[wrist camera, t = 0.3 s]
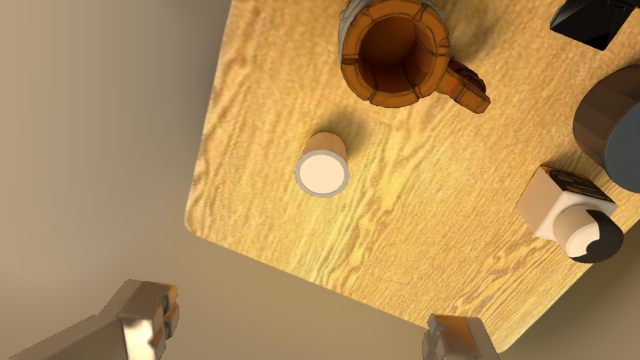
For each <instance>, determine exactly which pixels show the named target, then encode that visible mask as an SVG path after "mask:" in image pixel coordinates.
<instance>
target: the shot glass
mask: <svg viewBox="0 0 640 360" xmlns="http://www.w3.org/2000/svg"><path fill="white" fill-rule="evenodd" d="M294 174H295V178H296V182H297V184H298V185H299V186H300V188H301V189H302V190H303V191H304V192H306V193H308V194H309V195H311V196H315V197H319V198H327V197H332V196H335V195H337V194H339V193H341V192H342V190H343V189H344V188H345V187H346V186H347V184H348V181H349V177H350V175H349V168H348V162H347V156H346V150H345V145H344V143H343V141H342V140H341V138H339V137H338V136H336V135H335V134H333V133H329V132H322V133H317V134H316V135H314V136H312V137H311V138H310V139H309V141H308V142H307V144H306V146H305V148H304V150H303V152H302V154H301V156H300V158H299V160H298V162H297V164H296V168H295V172H294Z"/></svg>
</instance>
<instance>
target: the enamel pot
mask: <svg viewBox="0 0 640 360" xmlns="http://www.w3.org/2000/svg"><path fill="white" fill-rule="evenodd" d="M639 98H640V64H639V65H634V66H630V67H626V68H623V69H621V70H619V71H616V72H614V73H612V74H611V75H609V76H607V77H606V78H604V79H603V80H601V81H600V82H599V83H597V84H596V85H595V86H594V87H593V88H592V89H591V90H590V91H589V92H588V93H587V94H586V96H585V97H584V98H583V100H582V101H581V103H580V104H579V106H578V108H577V111H576V113H575V116H574V121H573V134H574V138H575V140H576V142H577V144H578V146H579V147H580V148H581V149H582V151H583V152H584V153H585V154H586V155H588V156H589V157H590V158H591V159H593V160H594V161H595V162H596V163H597V164H599V165H600V166H601V167H602V168H604V165H603V160H602V152H603V146H604V142H605V139H606V137H607V134H608V132H609V131H610V129H611V127H612V125H613V124H614V123H615V121H616V120H617V118H618V117H619V116H620V115H621V114H622V113H623V112H624V111H625V110H626V109H627V108H628V107H629V106H630V105H631V104H632V103H634V102H635V101H636V100H638V99H639Z"/></svg>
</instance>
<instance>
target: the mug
mask: <svg viewBox="0 0 640 360" xmlns="http://www.w3.org/2000/svg"><path fill="white" fill-rule="evenodd" d="M339 19H340V24H339V31H338V44H339V52H338V55H339V60H340V65H341V72H342V74H343V78H344V80H345V81H346V83H347V84H348V86H349V88H350V89H351V90H352V91H353V92H354V93H355V94H356V95H357V96H358V97H359V98H361V99H362V100H363V101H370V103H371V104H373V105H376V106H382V107H385V108H400V107H404V106H409V105H412V104H414V103H416V102H418V101H419V99H420V98H424V97H427V96H430V95H431V94H432V93H433V92H434V91H436V92H438V93H441V94H445V95H448V96H449V97H450V98H452V99H454V101H455V102H457V103H458V104H460V105H461V106H463V107H465V108H466V109H468V110H470V111H472V112H473V113H476V114H480V113H484V111H485V110H486V109H487V107H488V106H489V104H490V103H491V102H490V98H489V97H488V96H487V95H486V94H485V93H486V85H485V84H484V82H483V80H482V79H480V78H479V77H478V74H476V73H475V72H474V71H472V70H471V69H469V68H468V67H467V66H465V65H463V64H462V63H460V62H457V61H454V57H453V56H452V58H451V60H450V61H449V58H450V56H449V54H448V53H449V51H450V50H451V45H450V42H449V39H448V35H449V33H448V30H447V27H446V24H445V23H444V22H443V21H444V14H443V12H442V11H441V10H437V9H436V8H435V6H434V5H433V3H431V2H430V1H428V0H352V1H351V2H350V4H349V5H348V6H347V8H346V9H345V10H342V11H341V13H340V15H339Z"/></svg>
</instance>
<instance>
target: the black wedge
mask: <svg viewBox="0 0 640 360" xmlns="http://www.w3.org/2000/svg"><path fill="white" fill-rule="evenodd" d="M635 8H638V9H640V0H567V1H566V2H565V4H564V5H563V6H561V7H560V8H559V9H558V11H557V12H556V14H555V15H554V17H553V19H552V20H551V23H550V30H552V31H554V32H557V33H559V34H562V35H564V36H567V37H569V38H572V39H574V40H577V41H579V42H581V43H584V44H586V45H589V46H591V47H594V48H596V49H599V50H601V51H604V50H605V49H606V48H607V46H608V45H609V43H610V42H611V41H612V39H613V38H614V36H615V35H616V34H617V32H618V31H619V29H620V28H621V27H622V25H623V24H624V22H625V21H626V20H627V18H628V17H629V16H630V14H631V13H632V11H634V9H635Z"/></svg>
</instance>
